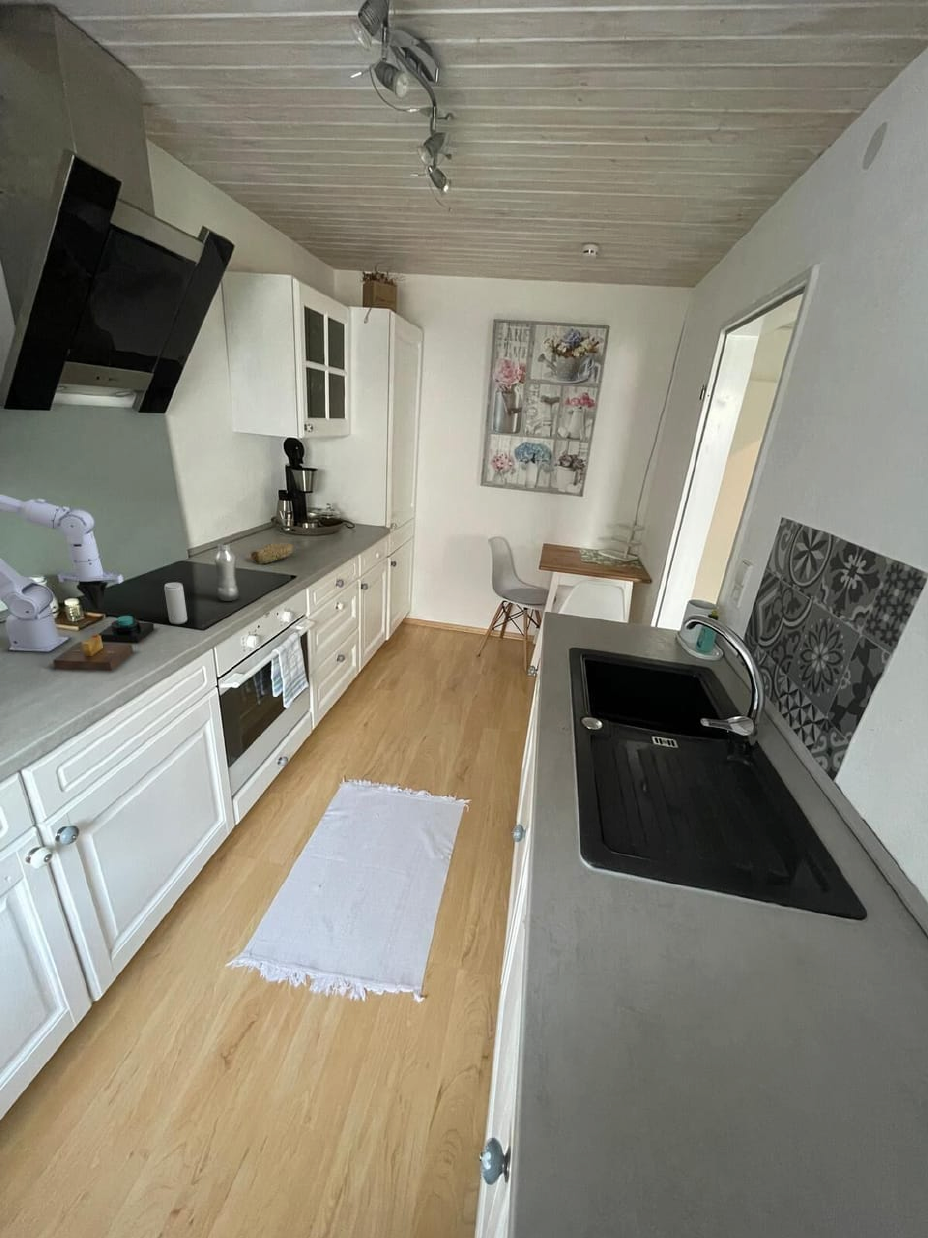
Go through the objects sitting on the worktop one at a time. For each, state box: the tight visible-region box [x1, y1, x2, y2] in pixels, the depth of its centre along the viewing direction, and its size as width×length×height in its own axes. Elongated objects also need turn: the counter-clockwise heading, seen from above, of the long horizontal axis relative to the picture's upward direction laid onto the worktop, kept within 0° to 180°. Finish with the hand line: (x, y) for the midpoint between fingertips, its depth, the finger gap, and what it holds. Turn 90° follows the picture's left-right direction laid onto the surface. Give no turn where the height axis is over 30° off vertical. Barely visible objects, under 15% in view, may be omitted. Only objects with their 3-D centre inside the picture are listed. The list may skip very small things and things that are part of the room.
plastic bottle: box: [214, 541, 240, 602], centre depth 165 cm, size 6×7×20 cm
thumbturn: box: [82, 634, 103, 656], centre depth 123 cm, size 5×2×4 cm, turn 5°
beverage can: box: [164, 582, 188, 625], centre depth 147 cm, size 5×5×12 cm
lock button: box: [116, 615, 133, 626], centre depth 137 cm, size 4×4×2 cm
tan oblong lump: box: [250, 542, 294, 565], centre depth 213 cm, size 13×8×20 cm
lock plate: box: [52, 641, 134, 672], centre depth 124 cm, size 13×10×3 cm
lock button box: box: [97, 617, 155, 644], centre depth 138 cm, size 10×9×4 cm
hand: (98, 607), depth 130 cm, fingers closed
